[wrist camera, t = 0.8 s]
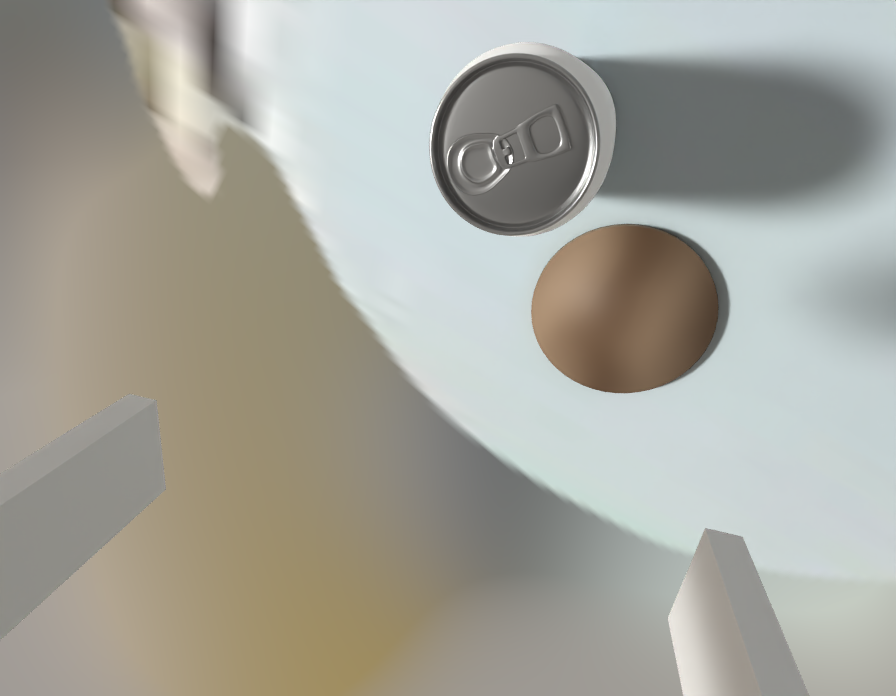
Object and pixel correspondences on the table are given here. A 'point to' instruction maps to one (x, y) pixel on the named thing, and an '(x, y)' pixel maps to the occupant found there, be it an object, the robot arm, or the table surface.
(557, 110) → the can
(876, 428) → the table surface
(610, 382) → the coaster
